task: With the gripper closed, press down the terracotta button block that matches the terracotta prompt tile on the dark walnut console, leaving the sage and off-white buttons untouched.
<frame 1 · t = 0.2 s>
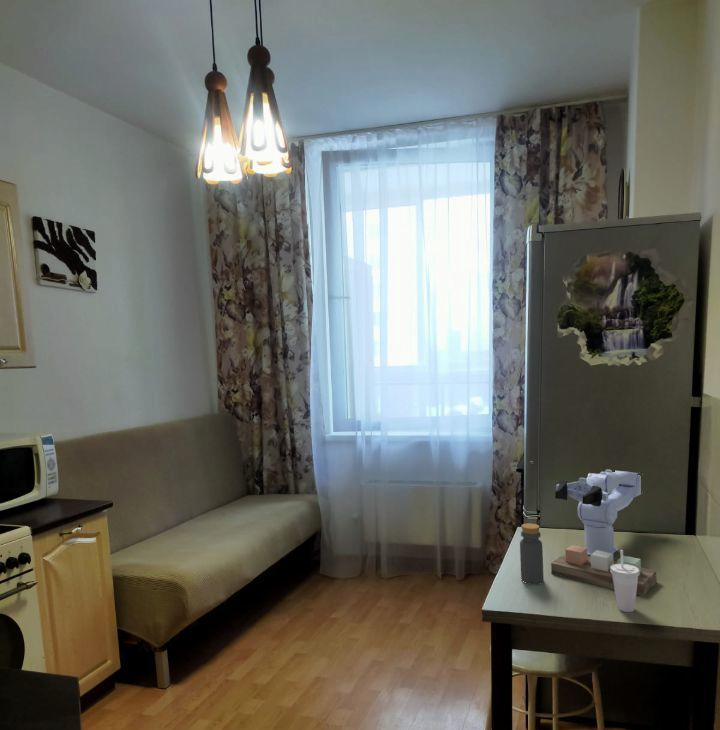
hand: (569, 497, 159), 21 cm above the table, tool horizontal, fingers open, 7 cm apart
prompt tile: (613, 568, 161), on the table
smoothie: (626, 609, 136), on the table
bottle: (532, 581, 155), on the table
sage button: (629, 567, 150), point 4 cm above the table, slide at 0.0 cm
console: (602, 577, 155), on the table
terracotta button: (576, 555, 160), point 5 cm above the table, slide at 0.0 cm
white button: (602, 561, 155), point 5 cm above the table, slide at 0.0 cm
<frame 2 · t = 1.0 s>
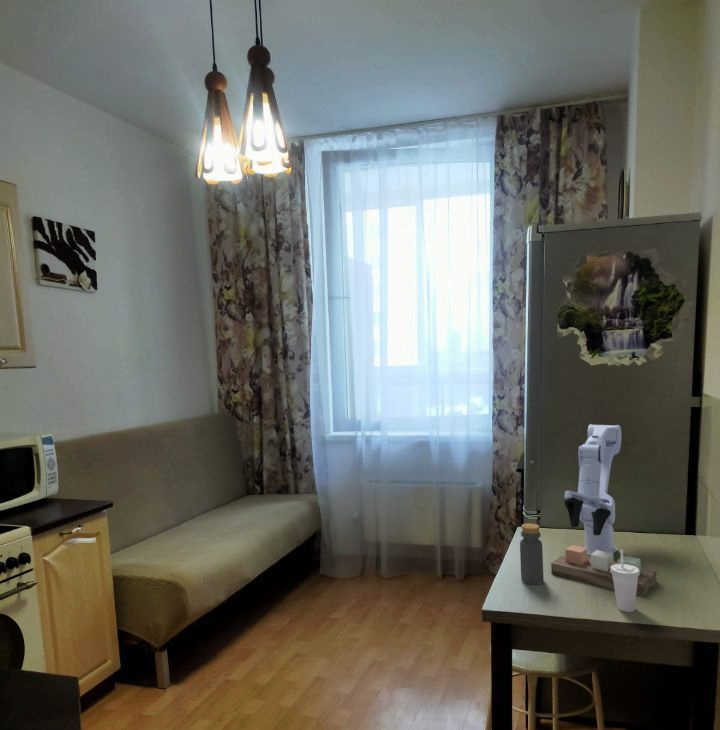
hand: (585, 530, 158), 12 cm above the table, tool tilted 30°, fingers open, 7 cm apart
nothing on the table moved.
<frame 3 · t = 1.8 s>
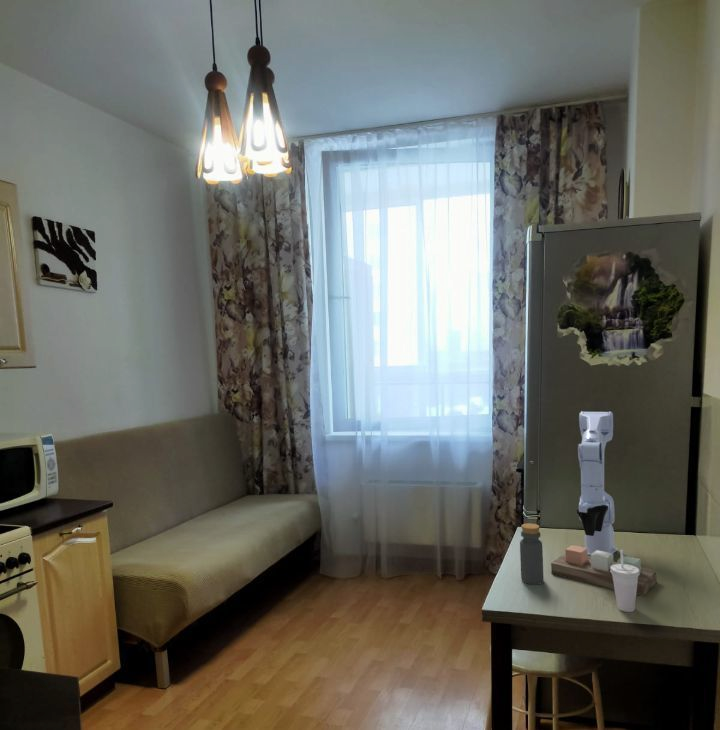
hand: (593, 533, 160), 10 cm above the table, tool pointing down, fingers open, 5 cm apart
nothing on the table moved.
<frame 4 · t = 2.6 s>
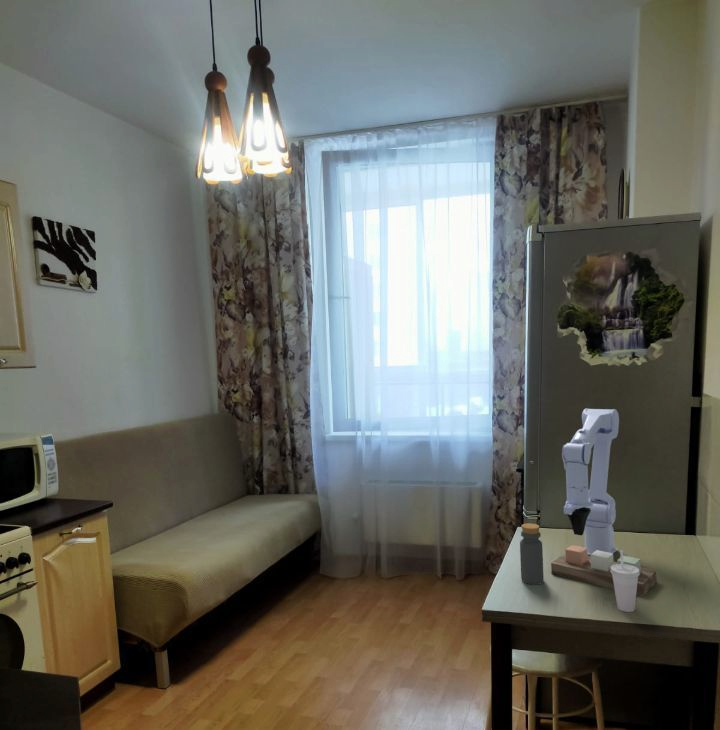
hand: (578, 534, 160), 10 cm above the table, tool pointing down, fingers closed
nothing on the table moved.
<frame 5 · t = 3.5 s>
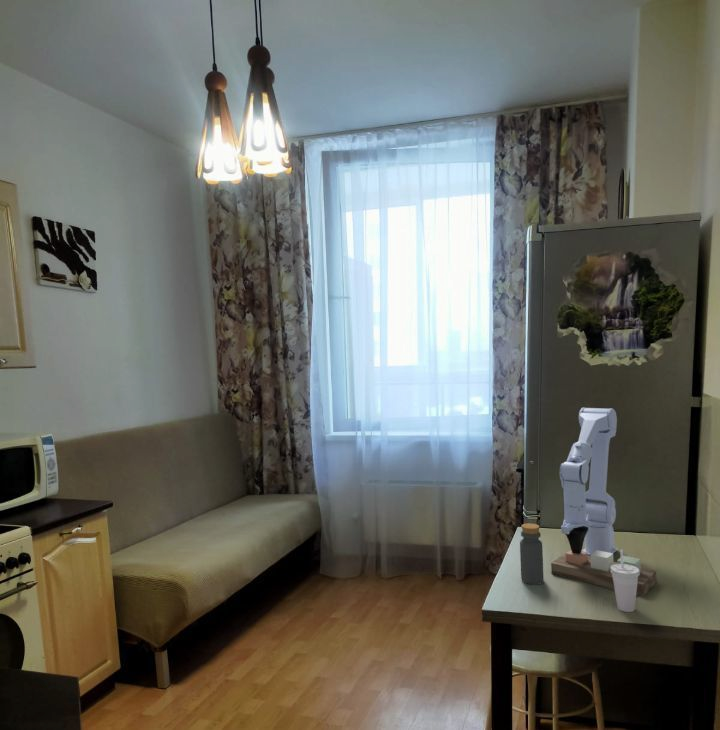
hand: (576, 552, 160), 5 cm above the table, tool pointing down, fingers closed, pressing on terracotta button
terracotta button: (576, 559, 160), point 3 cm above the table, slide at 1.1 cm, touching gripper
everything else where it was.
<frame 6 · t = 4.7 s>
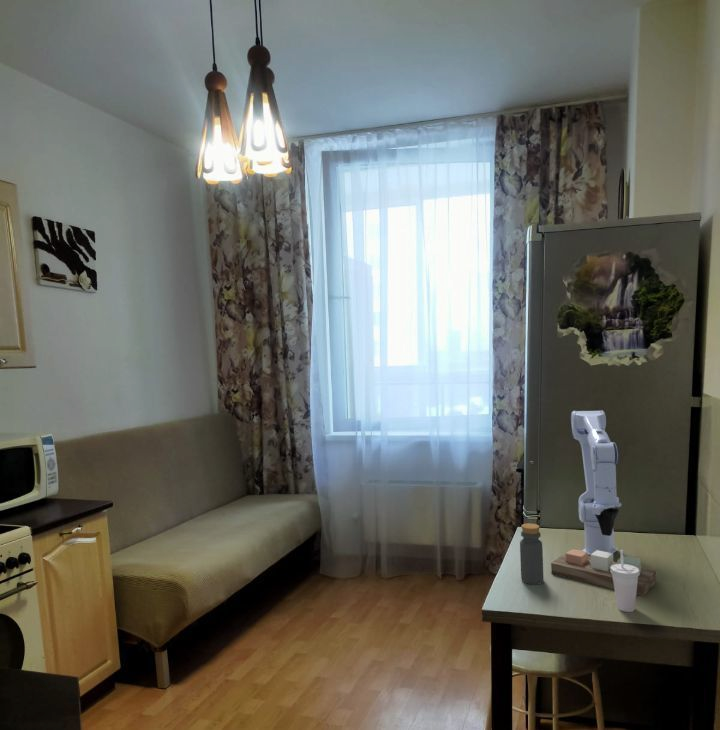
hand: (606, 534, 159), 10 cm above the table, tool pointing down, fingers closed
terracotta button: (576, 559, 160), point 3 cm above the table, slide at 1.1 cm
everything else where it was.
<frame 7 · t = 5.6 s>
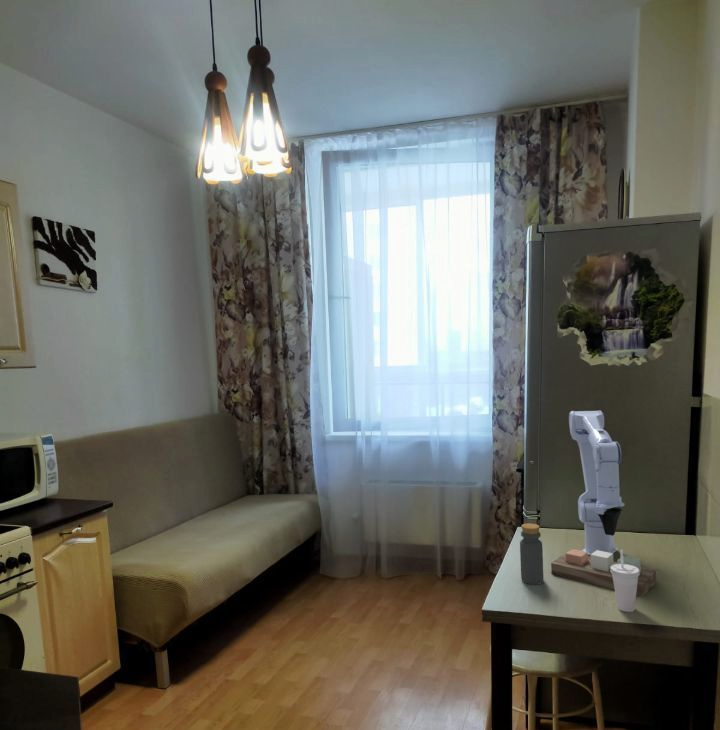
hand: (609, 534, 159), 10 cm above the table, tool pointing down, fingers closed
nothing on the table moved.
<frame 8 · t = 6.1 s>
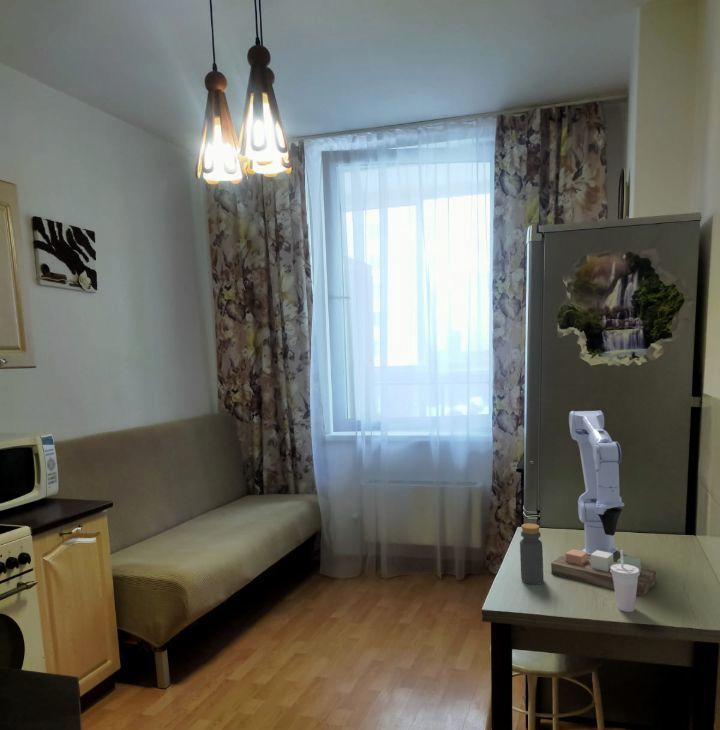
hand: (609, 534, 159), 10 cm above the table, tool pointing down, fingers closed
nothing on the table moved.
at the end: terracotta button slide at 1.1 cm; white button slide at 0.0 cm; sage button slide at 0.0 cm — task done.
